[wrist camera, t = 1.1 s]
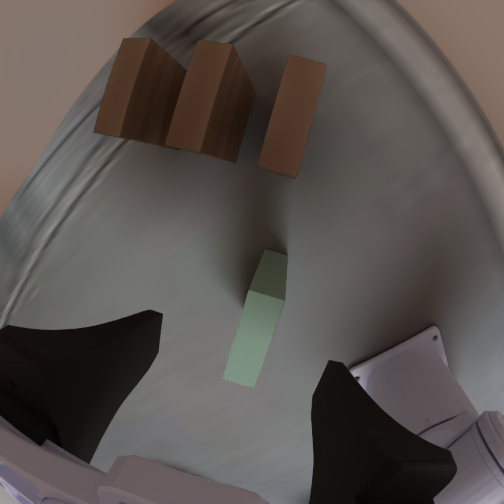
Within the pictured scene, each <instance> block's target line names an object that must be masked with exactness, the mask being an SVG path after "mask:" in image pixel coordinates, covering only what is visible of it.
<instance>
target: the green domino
mask: <svg viewBox="0 0 504 504" xmlns="http://www.w3.org/2000/svg"><path fill="white" fill-rule="evenodd" d="M287 263H288V255H285V254H281V253H278V252H274V251H271V250H268V249H265V250H264V253H263V255H262V258H261V260H260V263H259V265H258V268H257V270H256V273H255V275H254V278H253V280H252V283H251V285H250V288H249V290H248V294H247V297H246V300H245V304H244V307H243V311H242V314H241V318H240V321H239V325H238V328H237V332H236V335H235V338H234V342H233V345H232V349H231V352H230V356H229V359H228V362H227V366H226V369H225V373H224V376H223V379H225V380H228V381H231V382H234V383H238V384H241V385H245V386H248V387H252V388H254V386H255V383H256V381H257V378H258V375H259V373H260V370H261V367H262V365H263V362H264V359H265V356H266V354H267V351H268V348H269V345H270V342H271V340H272V337H273V334H274V331H275V328H276V325H277V322H278V320H279V317H280V314H281V311H282V308H283V305H284V302H285V293H286V279H287Z"/></svg>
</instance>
